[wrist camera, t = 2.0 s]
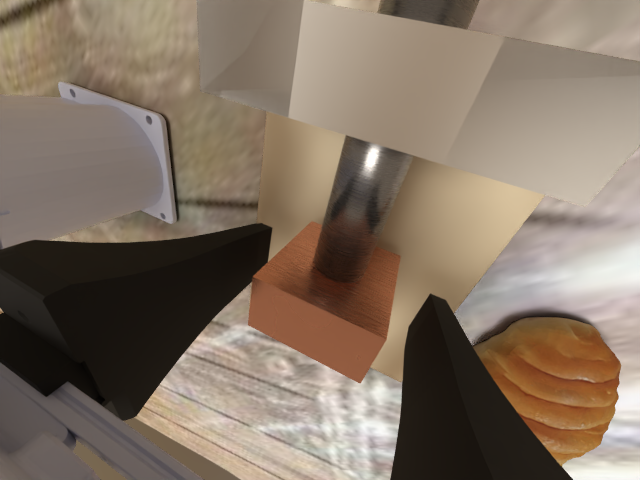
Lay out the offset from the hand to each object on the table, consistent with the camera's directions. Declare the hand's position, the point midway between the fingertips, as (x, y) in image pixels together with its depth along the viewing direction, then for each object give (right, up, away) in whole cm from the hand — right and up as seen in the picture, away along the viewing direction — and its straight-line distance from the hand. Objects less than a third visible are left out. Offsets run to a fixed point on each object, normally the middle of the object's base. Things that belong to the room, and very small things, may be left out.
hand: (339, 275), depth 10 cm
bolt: (+1, +4, -1) cm, 4 cm away
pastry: (+11, -6, +4) cm, 13 cm away
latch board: (+2, +2, +3) cm, 4 cm away
